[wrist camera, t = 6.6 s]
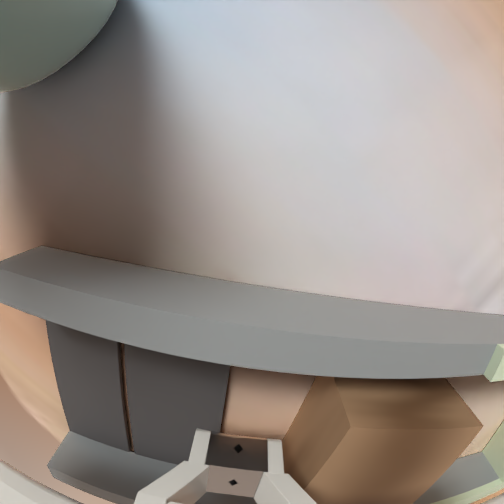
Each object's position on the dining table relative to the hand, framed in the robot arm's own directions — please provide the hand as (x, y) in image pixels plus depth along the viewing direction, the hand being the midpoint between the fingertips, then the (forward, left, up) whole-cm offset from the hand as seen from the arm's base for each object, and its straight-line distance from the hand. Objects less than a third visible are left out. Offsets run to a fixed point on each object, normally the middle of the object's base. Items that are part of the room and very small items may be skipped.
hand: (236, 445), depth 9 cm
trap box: (-5, 0, -2) cm, 5 cm away
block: (-5, 0, -2) cm, 6 cm away
